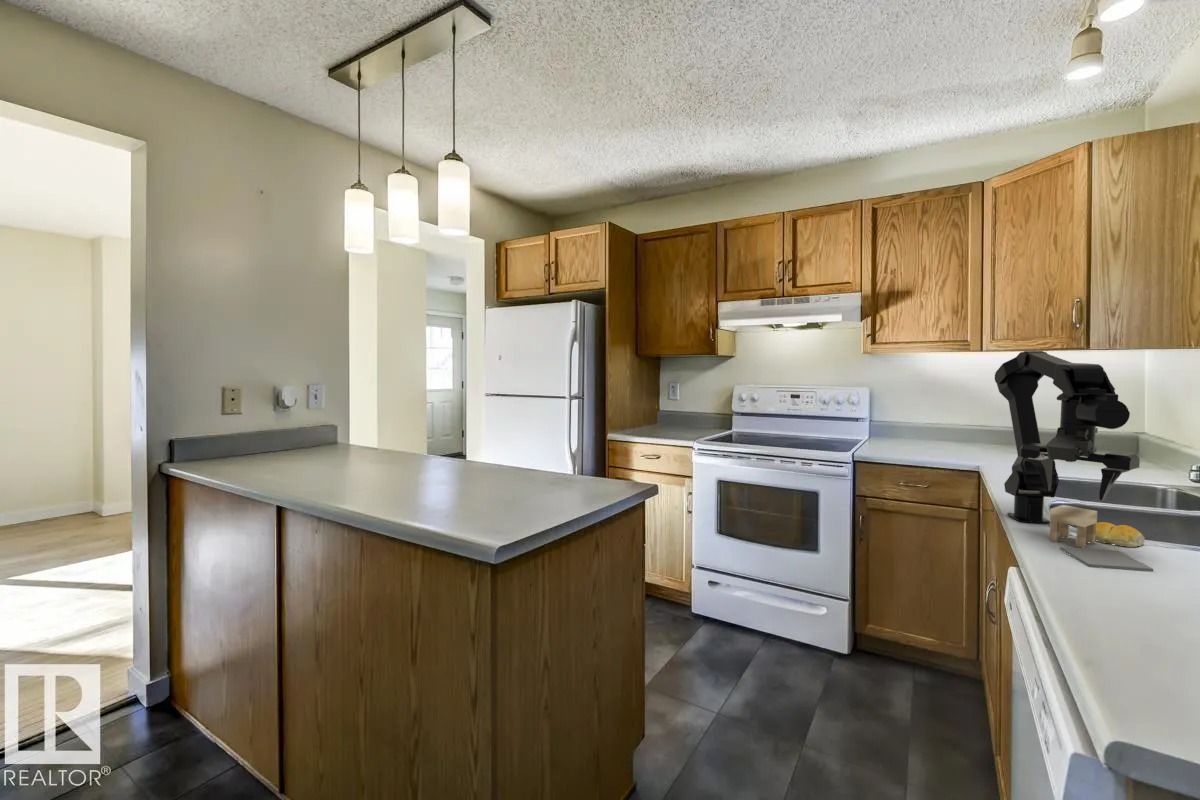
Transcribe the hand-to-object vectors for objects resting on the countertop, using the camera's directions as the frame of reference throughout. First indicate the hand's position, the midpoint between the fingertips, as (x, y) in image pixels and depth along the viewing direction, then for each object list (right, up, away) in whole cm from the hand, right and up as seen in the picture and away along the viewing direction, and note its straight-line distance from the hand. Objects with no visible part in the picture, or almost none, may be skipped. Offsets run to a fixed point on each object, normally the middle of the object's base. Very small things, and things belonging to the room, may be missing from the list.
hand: (1073, 495), depth 117 cm
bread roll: (+10, -11, +1) cm, 14 cm away
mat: (-3, -11, -10) cm, 15 cm away
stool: (0, -10, +1) cm, 10 cm away
